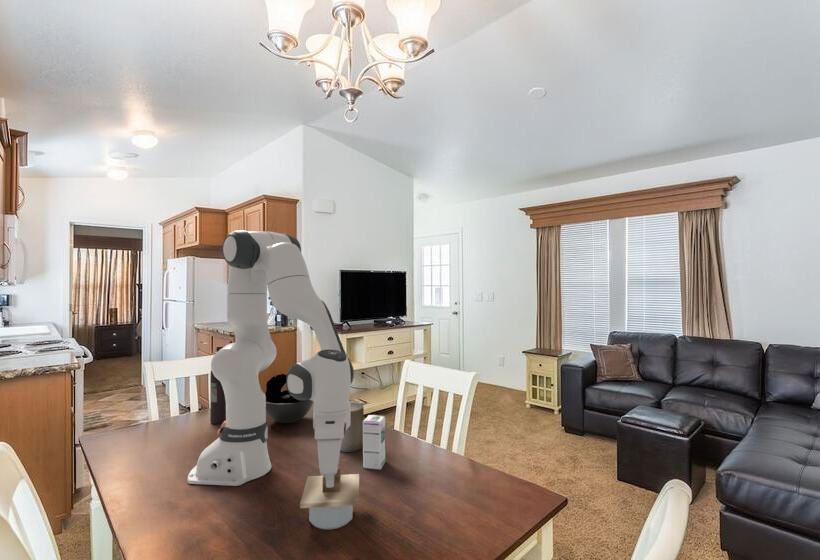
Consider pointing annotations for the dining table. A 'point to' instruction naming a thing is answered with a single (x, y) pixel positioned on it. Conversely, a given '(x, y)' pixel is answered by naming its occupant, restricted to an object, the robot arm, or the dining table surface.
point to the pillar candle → (354, 430)
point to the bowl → (330, 516)
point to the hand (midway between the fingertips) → (331, 476)
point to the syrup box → (374, 442)
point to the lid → (331, 491)
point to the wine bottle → (217, 399)
